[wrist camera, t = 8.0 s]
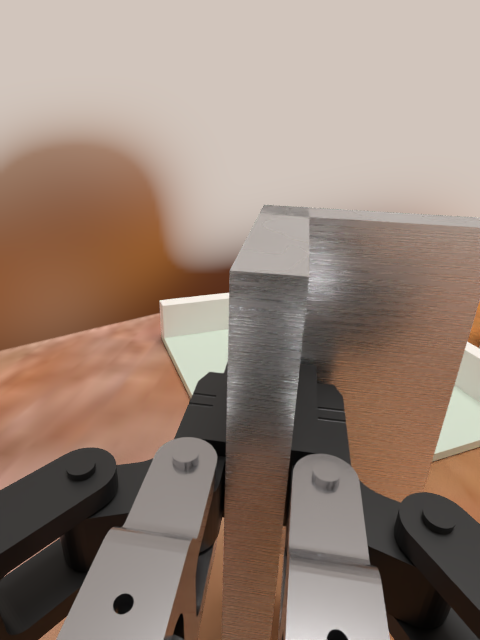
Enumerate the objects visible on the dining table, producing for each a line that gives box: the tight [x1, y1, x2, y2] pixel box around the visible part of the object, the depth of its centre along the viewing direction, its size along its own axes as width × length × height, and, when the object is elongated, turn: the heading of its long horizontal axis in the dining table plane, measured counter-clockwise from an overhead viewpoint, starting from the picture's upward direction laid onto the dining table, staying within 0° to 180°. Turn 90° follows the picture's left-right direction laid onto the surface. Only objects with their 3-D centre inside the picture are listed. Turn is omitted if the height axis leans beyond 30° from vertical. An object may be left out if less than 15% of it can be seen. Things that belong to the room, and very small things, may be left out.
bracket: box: [222, 205, 480, 640], centre depth 11 cm, size 6×6×12 cm
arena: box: [160, 293, 480, 462], centre depth 32 cm, size 20×20×4 cm
